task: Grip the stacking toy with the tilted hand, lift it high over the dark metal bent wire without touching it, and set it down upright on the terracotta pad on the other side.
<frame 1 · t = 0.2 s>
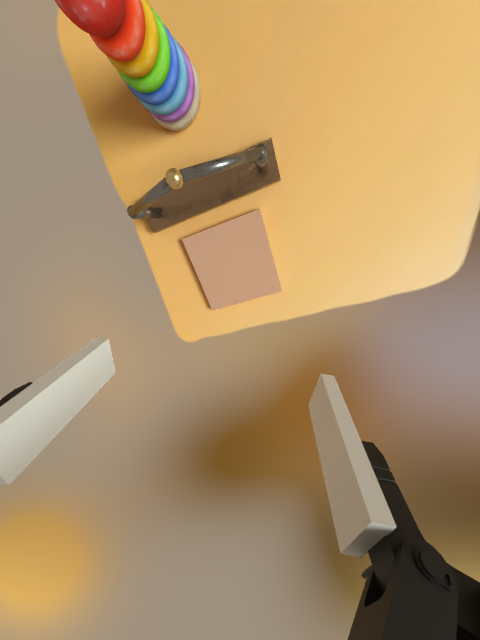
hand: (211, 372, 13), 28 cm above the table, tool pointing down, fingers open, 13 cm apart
stacking toy: (175, 95, 28), on the table
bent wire: (208, 191, 33), on the table
terracotta pad: (233, 264, 38), on the table
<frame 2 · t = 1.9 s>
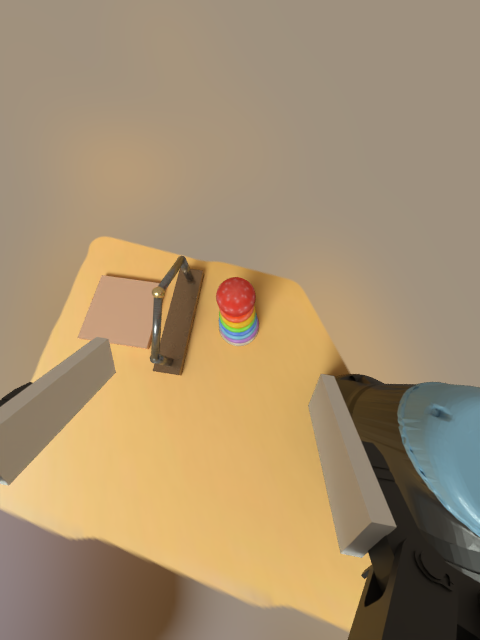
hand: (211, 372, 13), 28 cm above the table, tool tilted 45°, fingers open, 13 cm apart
stacking toy: (238, 327, 43), on the table
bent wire: (181, 319, 43), on the table
terracotta pad: (125, 311, 43), on the table
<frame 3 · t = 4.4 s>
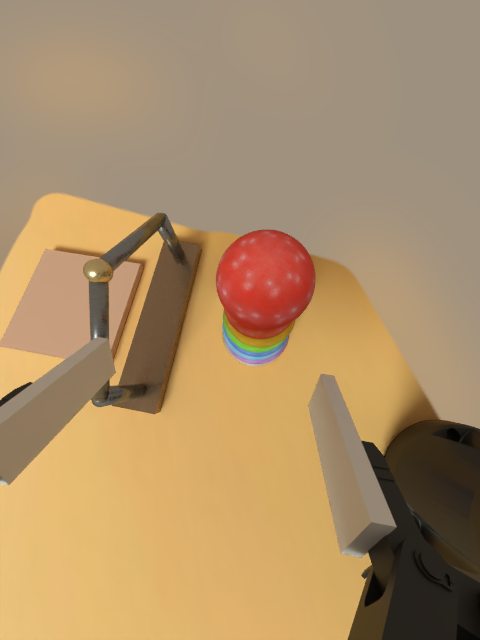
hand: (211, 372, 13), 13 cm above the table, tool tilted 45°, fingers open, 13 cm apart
stacking toy: (254, 335, 27), on the table
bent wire: (164, 319, 27), on the table
terracotta pad: (78, 305, 28), on the table
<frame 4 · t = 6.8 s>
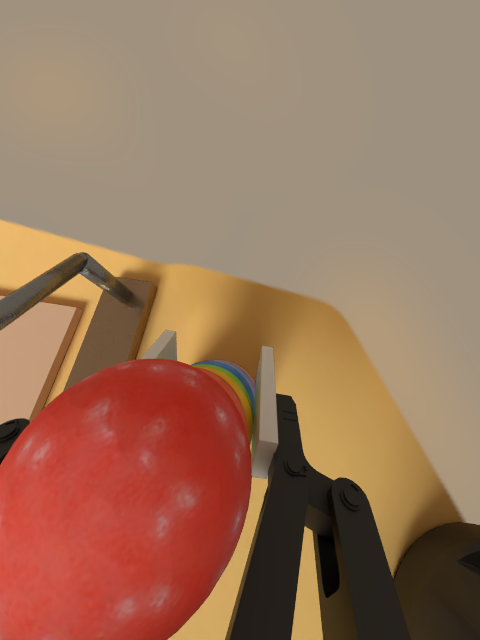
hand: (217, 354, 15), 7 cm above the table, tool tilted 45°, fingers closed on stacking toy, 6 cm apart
stacking toy: (218, 401, 21), on the table, touching gripper
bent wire: (103, 381, 21), on the table
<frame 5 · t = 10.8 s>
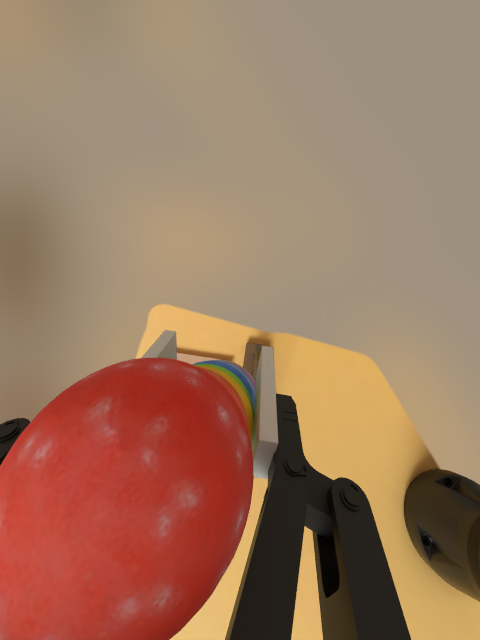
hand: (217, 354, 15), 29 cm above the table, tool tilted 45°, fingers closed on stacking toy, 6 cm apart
stacking toy: (219, 401, 21), point 21 cm above the table, touching gripper
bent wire: (251, 400, 41), on the table
when the fingers open (10 cm above the table, at t = 15.0 s): stacking toy drops 1 cm, resting on terracotta pad.
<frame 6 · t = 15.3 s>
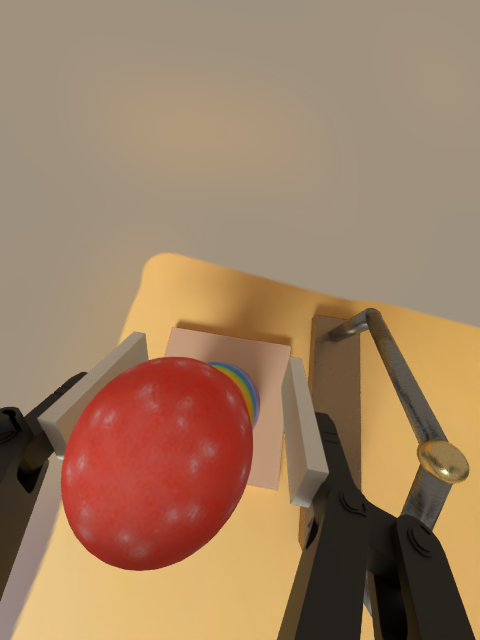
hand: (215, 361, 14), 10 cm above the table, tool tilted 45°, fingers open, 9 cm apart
stacking toy: (221, 401, 22), point 1 cm above the table, touching terracotta pad
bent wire: (329, 417, 22), on the table
terracotta pad: (220, 399, 23), on the table
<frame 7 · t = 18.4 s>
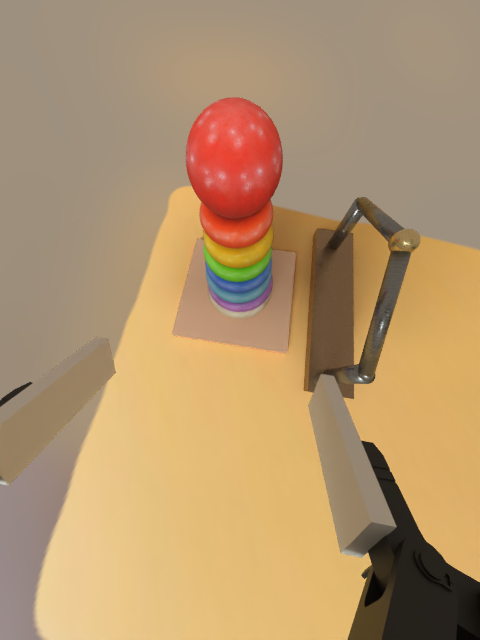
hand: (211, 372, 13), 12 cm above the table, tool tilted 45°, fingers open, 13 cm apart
stacking toy: (239, 292, 27), point 1 cm above the table, touching terracotta pad
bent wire: (328, 307, 27), on the table
terracotta pad: (238, 293, 28), on the table
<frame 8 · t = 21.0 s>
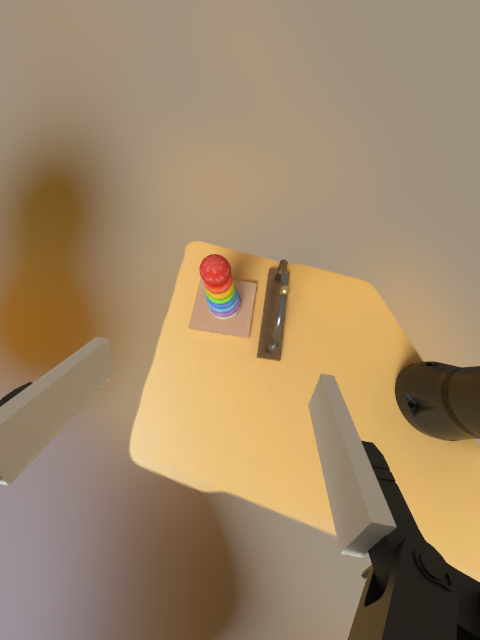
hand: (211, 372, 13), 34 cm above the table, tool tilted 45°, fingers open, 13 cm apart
stacking toy: (224, 305, 49), point 1 cm above the table, touching terracotta pad
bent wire: (273, 313, 50), on the table
terracotta pad: (224, 306, 50), on the table
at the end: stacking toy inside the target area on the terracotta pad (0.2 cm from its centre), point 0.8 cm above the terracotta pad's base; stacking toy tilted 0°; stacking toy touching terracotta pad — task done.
